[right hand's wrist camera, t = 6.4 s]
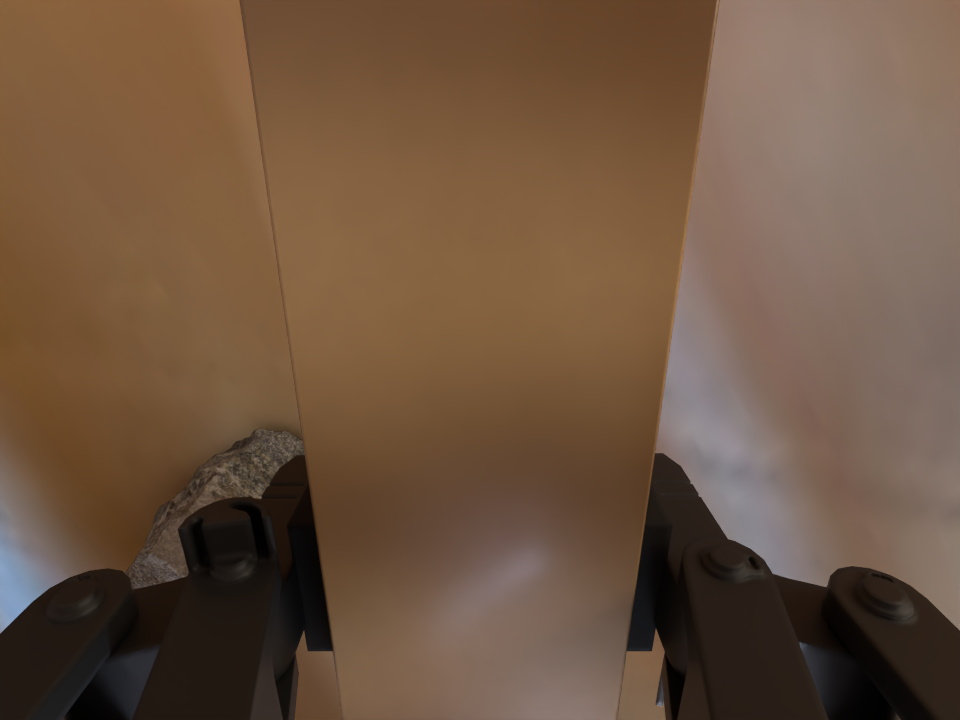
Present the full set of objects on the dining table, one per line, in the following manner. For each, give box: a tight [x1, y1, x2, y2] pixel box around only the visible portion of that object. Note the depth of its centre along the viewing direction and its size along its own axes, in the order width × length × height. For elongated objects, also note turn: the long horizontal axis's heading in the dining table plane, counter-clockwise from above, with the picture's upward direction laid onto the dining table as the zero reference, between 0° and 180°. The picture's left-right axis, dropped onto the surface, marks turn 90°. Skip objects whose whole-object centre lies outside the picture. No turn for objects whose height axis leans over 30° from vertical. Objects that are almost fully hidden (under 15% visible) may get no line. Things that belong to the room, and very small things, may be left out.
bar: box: [240, 0, 719, 720], centre depth 9 cm, size 24×4×8 cm, turn 0°
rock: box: [125, 429, 305, 590], centre depth 25 cm, size 13×9×6 cm, turn 165°
